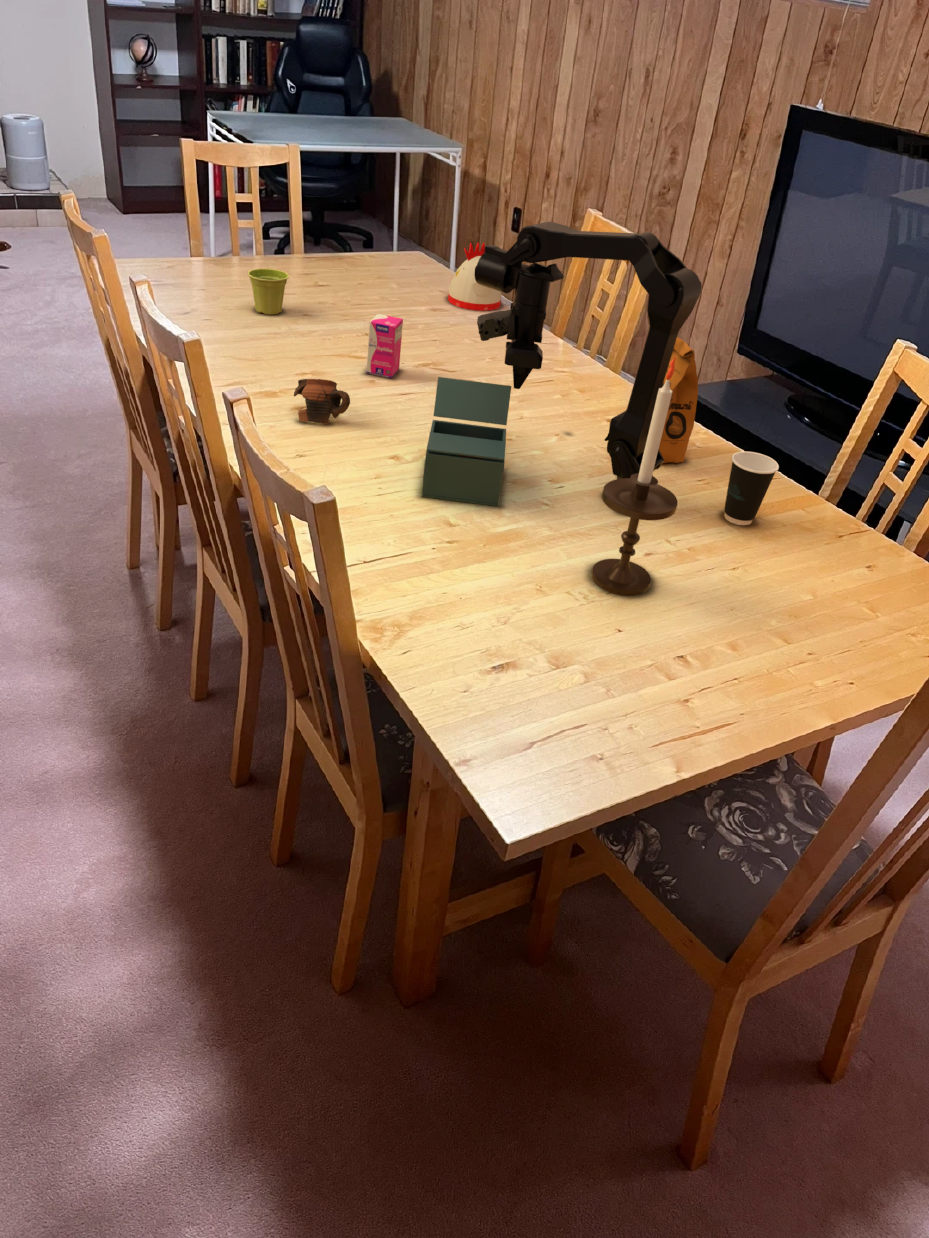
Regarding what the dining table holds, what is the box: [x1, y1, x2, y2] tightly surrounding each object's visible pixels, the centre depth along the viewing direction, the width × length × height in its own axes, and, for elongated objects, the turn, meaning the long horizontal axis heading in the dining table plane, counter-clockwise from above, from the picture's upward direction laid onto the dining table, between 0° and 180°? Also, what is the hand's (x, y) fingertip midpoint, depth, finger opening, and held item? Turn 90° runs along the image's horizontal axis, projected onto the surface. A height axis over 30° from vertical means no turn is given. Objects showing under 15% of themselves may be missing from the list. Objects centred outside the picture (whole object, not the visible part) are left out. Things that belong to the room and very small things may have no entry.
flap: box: [433, 376, 512, 426], centre depth 171 cm, size 13×7×1 cm
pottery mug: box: [293, 378, 351, 425], centre depth 186 cm, size 12×10×8 cm
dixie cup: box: [723, 450, 780, 526], centre depth 168 cm, size 8×8×11 cm
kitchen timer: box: [447, 242, 502, 312], centre depth 253 cm, size 14×14×15 cm
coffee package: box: [659, 336, 699, 464], centre depth 185 cm, size 10×12×22 cm
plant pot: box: [247, 268, 290, 315], centre depth 231 cm, size 9×9×9 cm
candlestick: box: [590, 357, 679, 597], centre depth 140 cm, size 11×11×35 cm
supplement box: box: [365, 313, 404, 379], centre depth 206 cm, size 6×6×12 cm
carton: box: [421, 419, 507, 507], centre depth 168 cm, size 13×14×9 cm
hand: (516, 388), depth 175 cm, fingers closed
